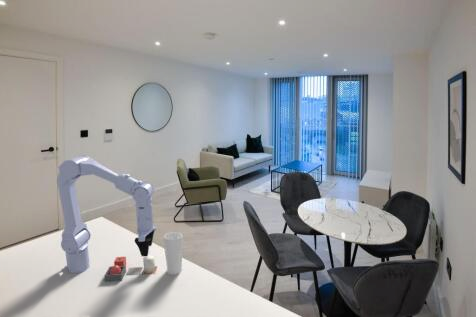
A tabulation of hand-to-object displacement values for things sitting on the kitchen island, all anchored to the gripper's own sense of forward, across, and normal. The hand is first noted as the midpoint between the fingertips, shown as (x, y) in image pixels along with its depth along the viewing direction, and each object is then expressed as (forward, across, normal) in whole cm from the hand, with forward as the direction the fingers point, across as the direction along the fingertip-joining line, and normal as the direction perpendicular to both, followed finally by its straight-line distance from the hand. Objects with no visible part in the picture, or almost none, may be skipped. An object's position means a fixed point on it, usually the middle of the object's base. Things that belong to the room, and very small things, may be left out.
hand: (146, 250), depth 112 cm
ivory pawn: (+8, 0, -1) cm, 8 cm away
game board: (+9, 0, +5) cm, 10 cm away
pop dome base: (+8, -3, +11) cm, 14 cm away
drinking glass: (+9, -1, -10) cm, 14 cm away
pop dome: (+7, -3, +11) cm, 13 cm away
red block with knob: (+8, +3, +11) cm, 14 cm away
